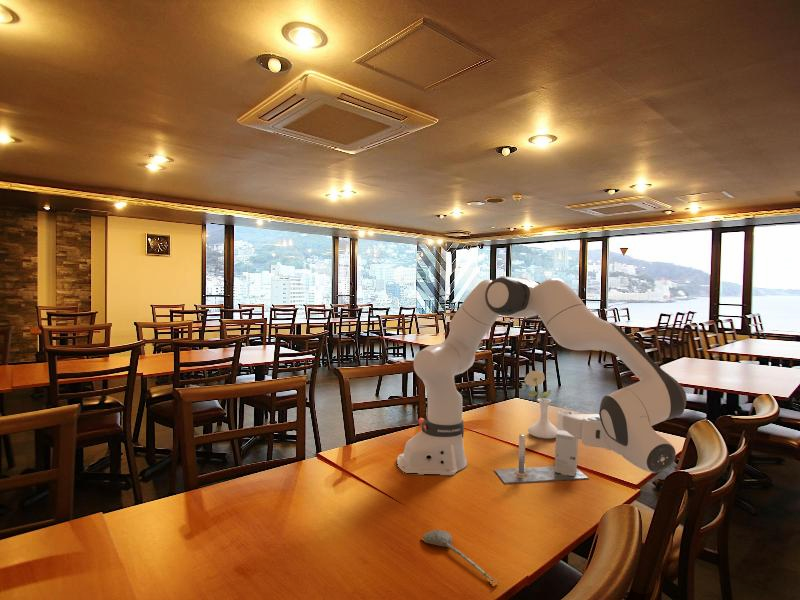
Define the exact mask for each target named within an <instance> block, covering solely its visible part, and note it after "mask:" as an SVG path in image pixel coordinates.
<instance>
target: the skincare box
mask: <svg viewBox="0 0 800 600" xmlns="http://www.w3.org/2000/svg"><path fill="white" fill-rule="evenodd" d="M578 446H579V439H578V438H576V437H574V436H572V435H571V434H570V433H568V432H567V431H562V430H558V432H557V434H556V437H555V451H554V454H555V455H554V456H555V457H554V466H555V470H554V471H555V472H557V473H561V474H565V475H570V476H575V474H576V471H577V469H578V448H579V447H578Z"/></svg>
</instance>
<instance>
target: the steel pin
mask: <svg viewBox="0 0 800 600" xmlns="http://www.w3.org/2000/svg"><path fill="white" fill-rule="evenodd" d="M518 468H519V470H518V471H517V472H516V474H517V475H518V476H521V477H524V476H527V472H525V468H526V435H525V434H522V433H521V434H519V435H518Z"/></svg>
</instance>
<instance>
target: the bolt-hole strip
mask: <svg viewBox="0 0 800 600" xmlns="http://www.w3.org/2000/svg"><path fill="white" fill-rule="evenodd" d="M518 470H519V467H515V468H514V467H513V468H497V469H494V471H493V472H494V473H495V474H496V473H497V474H496V475H497V476H498V477H499V479H500V480H501V481H502V483H503V482H504V483H503V484H504V485H508V484H509V485H512V484H524V483H525V484H526V483H529V484H530V483H541V482H542V483H544V482H545V483H546V482H562V481H576V480H577V481H579V480H581V481H582V480H589V476H587V475H586V474H584V473H583V471H581V470H580V469H578V468H577V471H576V474H575V476H570V475H565V474H561V473H557V472H555V471H554V470H555V465H551V466H550V465H549V466H534V467H525V472H527V476H524V477H521V476H518V475H517V474H516V472H517V471H518Z"/></svg>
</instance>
